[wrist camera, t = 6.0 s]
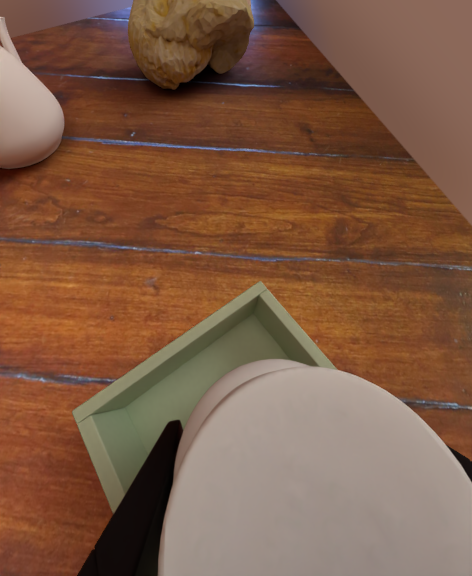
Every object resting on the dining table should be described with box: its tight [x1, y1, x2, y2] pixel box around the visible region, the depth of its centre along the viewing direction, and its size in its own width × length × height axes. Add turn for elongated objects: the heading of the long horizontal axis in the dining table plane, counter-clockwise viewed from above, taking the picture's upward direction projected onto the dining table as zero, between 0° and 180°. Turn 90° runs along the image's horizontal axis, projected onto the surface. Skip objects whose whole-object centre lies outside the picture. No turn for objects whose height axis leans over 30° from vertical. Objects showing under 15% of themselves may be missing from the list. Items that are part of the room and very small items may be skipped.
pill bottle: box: [158, 359, 472, 576], centre depth 8 cm, size 6×6×11 cm
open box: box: [72, 281, 337, 514], centre depth 14 cm, size 16×14×5 cm
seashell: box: [128, 0, 254, 90], centre depth 31 cm, size 17×11×15 cm
